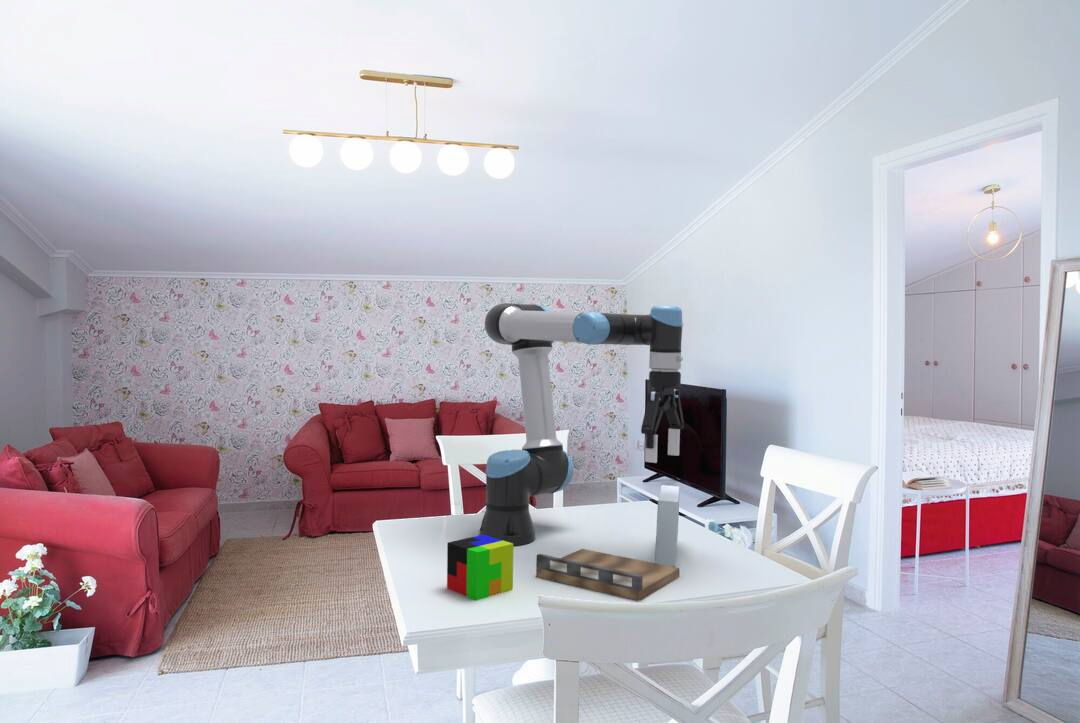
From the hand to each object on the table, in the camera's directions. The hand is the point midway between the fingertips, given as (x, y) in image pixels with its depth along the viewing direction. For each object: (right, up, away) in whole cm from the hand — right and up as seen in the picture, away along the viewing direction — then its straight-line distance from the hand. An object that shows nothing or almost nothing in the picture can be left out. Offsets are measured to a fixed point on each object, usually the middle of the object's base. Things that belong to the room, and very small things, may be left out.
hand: (662, 458), depth 177 cm
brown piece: (-14, -26, -10) cm, 31 cm away
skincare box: (+3, -26, +9) cm, 28 cm away
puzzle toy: (-42, -26, -19) cm, 53 cm away
